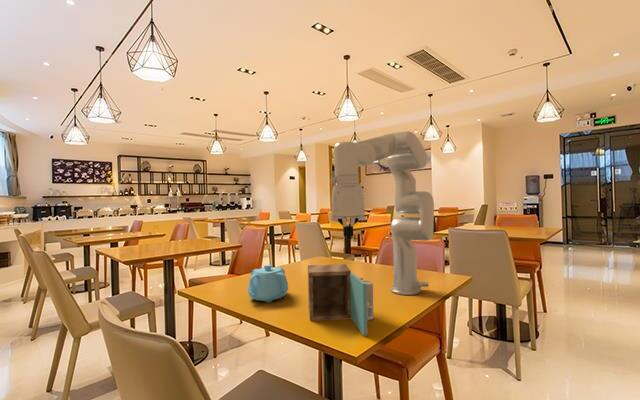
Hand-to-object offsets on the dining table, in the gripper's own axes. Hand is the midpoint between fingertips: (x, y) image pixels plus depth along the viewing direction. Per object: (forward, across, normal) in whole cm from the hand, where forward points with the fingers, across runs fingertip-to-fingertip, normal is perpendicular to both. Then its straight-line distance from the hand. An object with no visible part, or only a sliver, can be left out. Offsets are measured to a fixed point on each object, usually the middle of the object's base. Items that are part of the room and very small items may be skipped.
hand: (348, 238), depth 105 cm
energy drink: (+28, +6, +4) cm, 29 cm away
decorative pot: (+28, -29, +31) cm, 51 cm away
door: (+27, +2, -4) cm, 27 cm away
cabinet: (+28, -6, +10) cm, 30 cm away
